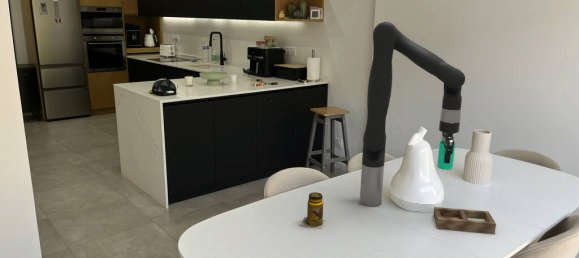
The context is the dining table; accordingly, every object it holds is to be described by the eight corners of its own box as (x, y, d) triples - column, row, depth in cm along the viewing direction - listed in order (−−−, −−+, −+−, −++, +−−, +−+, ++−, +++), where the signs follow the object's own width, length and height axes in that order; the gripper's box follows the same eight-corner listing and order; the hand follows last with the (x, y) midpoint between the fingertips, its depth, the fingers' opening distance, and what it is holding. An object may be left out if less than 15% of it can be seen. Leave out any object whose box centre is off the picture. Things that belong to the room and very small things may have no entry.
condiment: (321, 228, 165) (322, 199, 162) (299, 225, 168) (300, 196, 165) (325, 220, 172) (326, 192, 169) (304, 217, 175) (305, 189, 172)
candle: (453, 170, 175) (457, 141, 172) (438, 169, 176) (441, 140, 173) (451, 165, 181) (454, 137, 178) (436, 164, 182) (439, 136, 179)
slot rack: (437, 228, 166) (438, 219, 165) (433, 216, 177) (434, 206, 176) (494, 233, 163) (496, 224, 162) (487, 220, 174) (488, 211, 173)
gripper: (437, 115, 181) (433, 154, 185) (442, 123, 167) (438, 166, 171) (456, 116, 179) (452, 156, 184) (463, 124, 166) (458, 167, 170)
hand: (445, 160), depth 178 cm, fingers closed on candle, 5 cm apart
